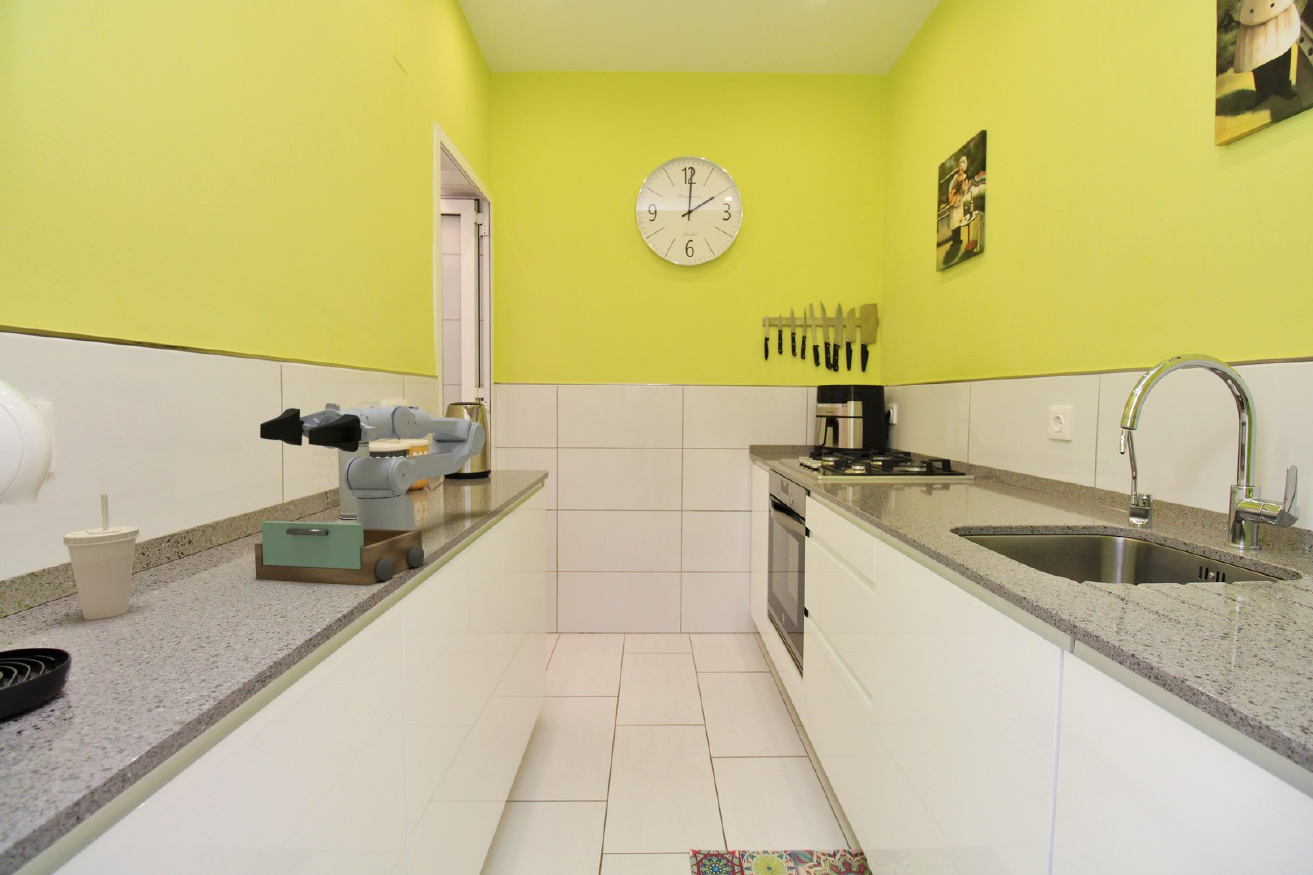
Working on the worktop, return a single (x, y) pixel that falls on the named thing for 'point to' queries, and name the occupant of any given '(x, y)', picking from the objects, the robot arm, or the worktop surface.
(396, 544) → the cart
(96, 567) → the smoothie
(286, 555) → the tailgate
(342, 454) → the travel mug
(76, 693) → the worktop surface
